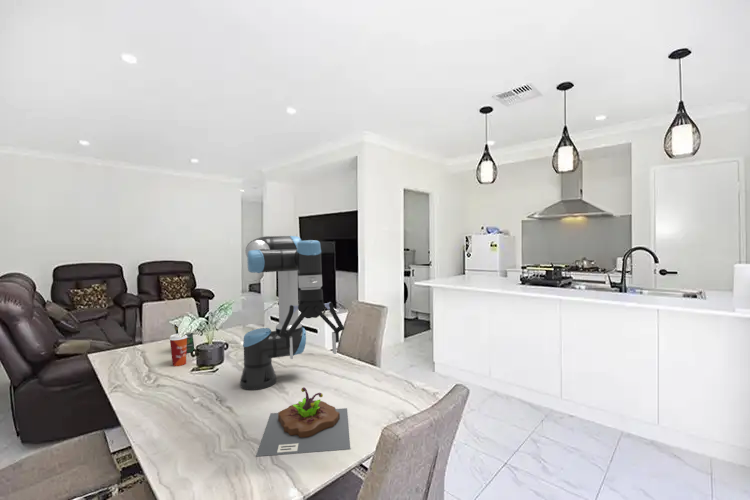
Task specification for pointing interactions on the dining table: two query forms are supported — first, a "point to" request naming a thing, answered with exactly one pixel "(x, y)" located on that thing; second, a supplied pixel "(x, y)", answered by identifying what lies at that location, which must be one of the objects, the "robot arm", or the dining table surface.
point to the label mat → (304, 438)
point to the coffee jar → (188, 341)
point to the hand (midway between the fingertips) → (313, 355)
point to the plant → (308, 416)
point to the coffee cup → (178, 349)
